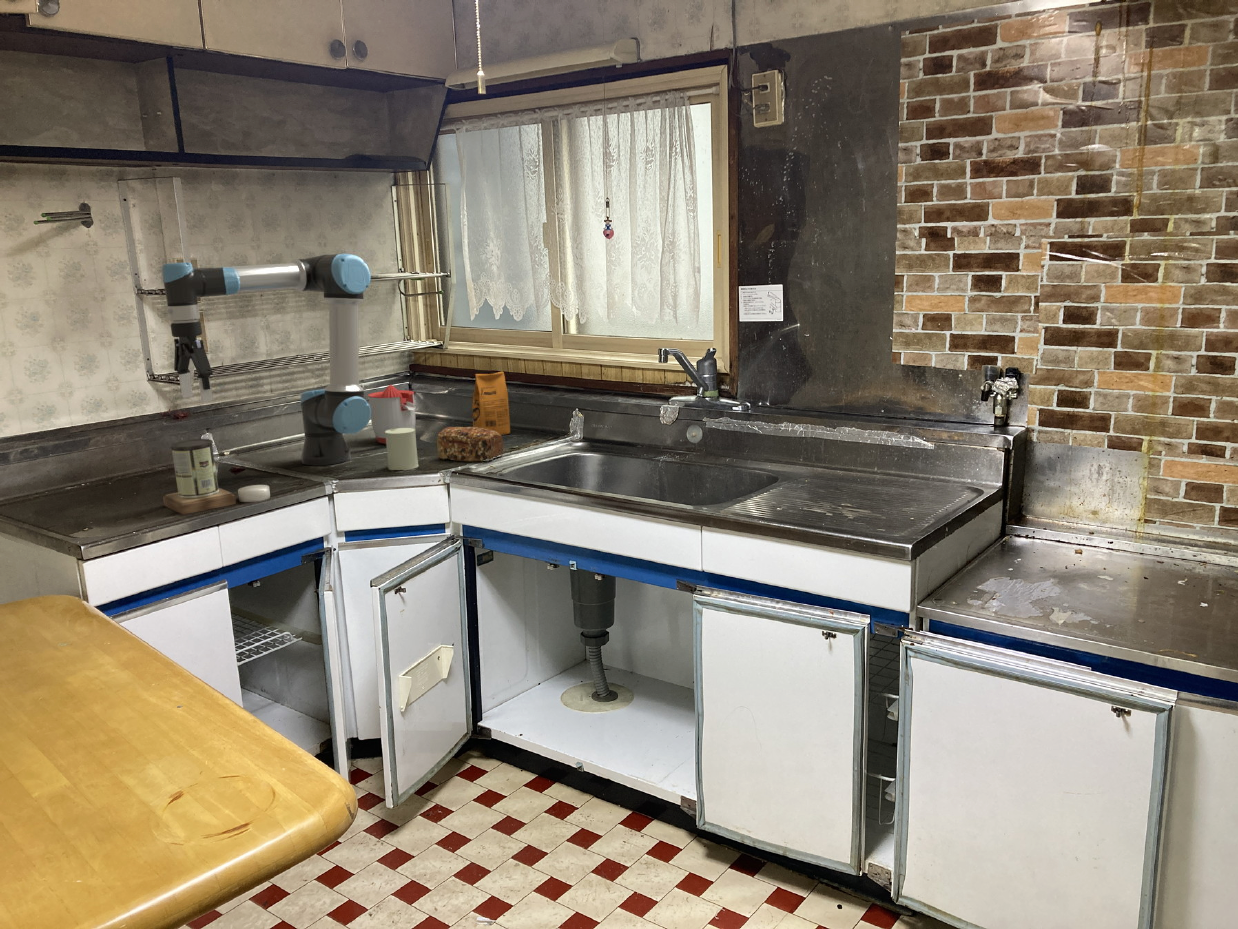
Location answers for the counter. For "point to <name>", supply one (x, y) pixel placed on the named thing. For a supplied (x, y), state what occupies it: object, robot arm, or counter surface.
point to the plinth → (198, 502)
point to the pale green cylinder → (401, 449)
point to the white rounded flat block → (254, 493)
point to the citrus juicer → (391, 411)
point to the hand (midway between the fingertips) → (197, 399)
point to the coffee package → (491, 403)
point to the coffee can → (195, 468)
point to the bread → (469, 444)
